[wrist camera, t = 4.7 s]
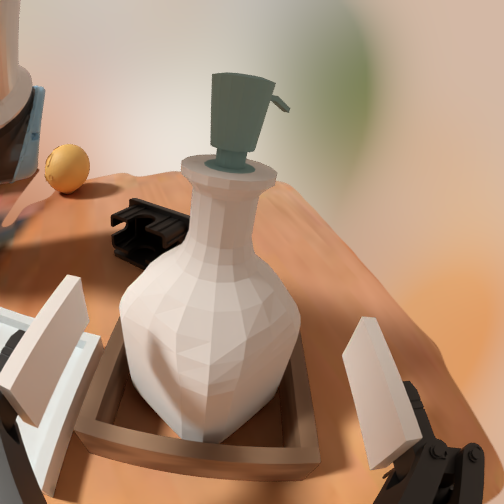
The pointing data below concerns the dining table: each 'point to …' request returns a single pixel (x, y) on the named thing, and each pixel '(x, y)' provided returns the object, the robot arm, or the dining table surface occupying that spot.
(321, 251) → the dining table surface
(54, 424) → the tray
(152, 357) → the soap bottle
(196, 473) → the walnut holder
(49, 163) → the stress ball
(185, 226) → the end cap
